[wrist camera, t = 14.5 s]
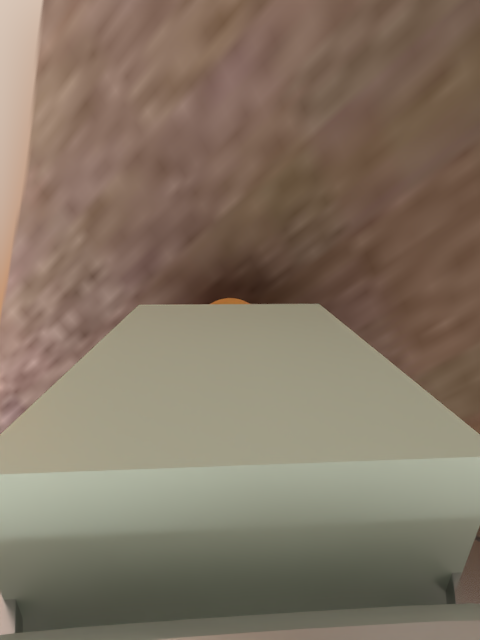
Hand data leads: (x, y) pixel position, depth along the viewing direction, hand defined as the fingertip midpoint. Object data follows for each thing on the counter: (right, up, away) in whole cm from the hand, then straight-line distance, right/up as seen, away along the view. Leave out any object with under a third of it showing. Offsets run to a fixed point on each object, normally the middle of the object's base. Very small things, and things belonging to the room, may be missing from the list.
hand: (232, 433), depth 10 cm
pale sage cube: (0, +1, +3) cm, 3 cm away
